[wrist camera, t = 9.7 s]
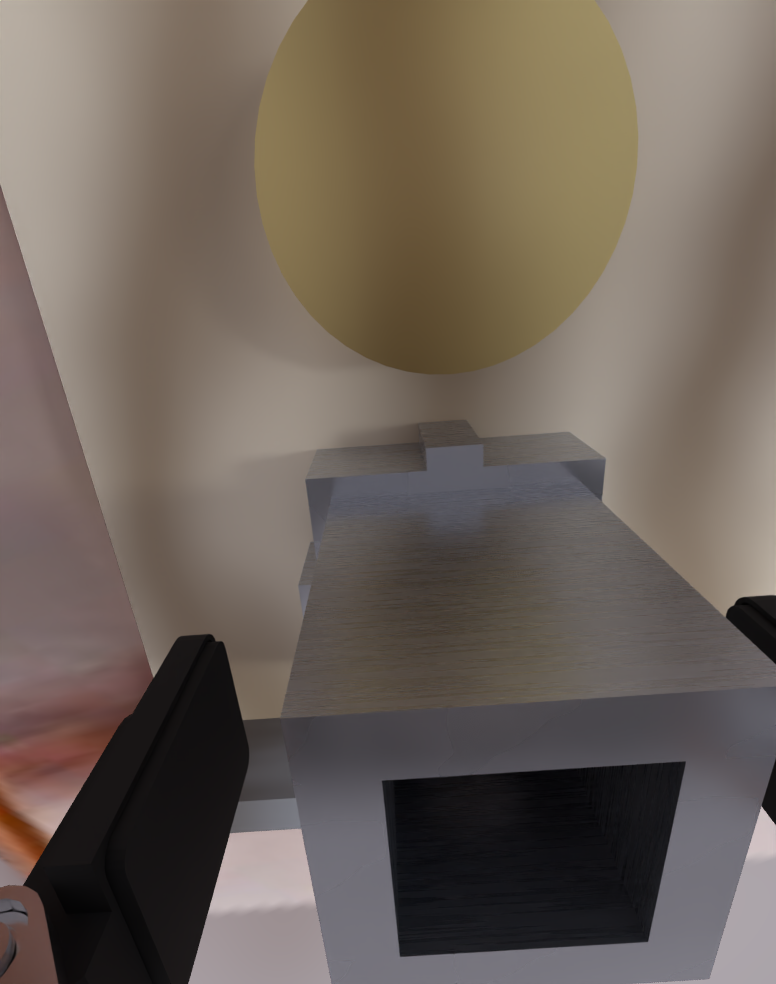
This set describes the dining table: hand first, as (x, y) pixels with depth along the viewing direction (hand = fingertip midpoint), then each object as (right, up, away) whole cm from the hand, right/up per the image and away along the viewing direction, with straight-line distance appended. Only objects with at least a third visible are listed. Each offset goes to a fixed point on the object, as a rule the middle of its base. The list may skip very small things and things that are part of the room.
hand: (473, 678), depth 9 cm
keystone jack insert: (0, +2, +4) cm, 5 cm away
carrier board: (+1, +7, +4) cm, 8 cm away
